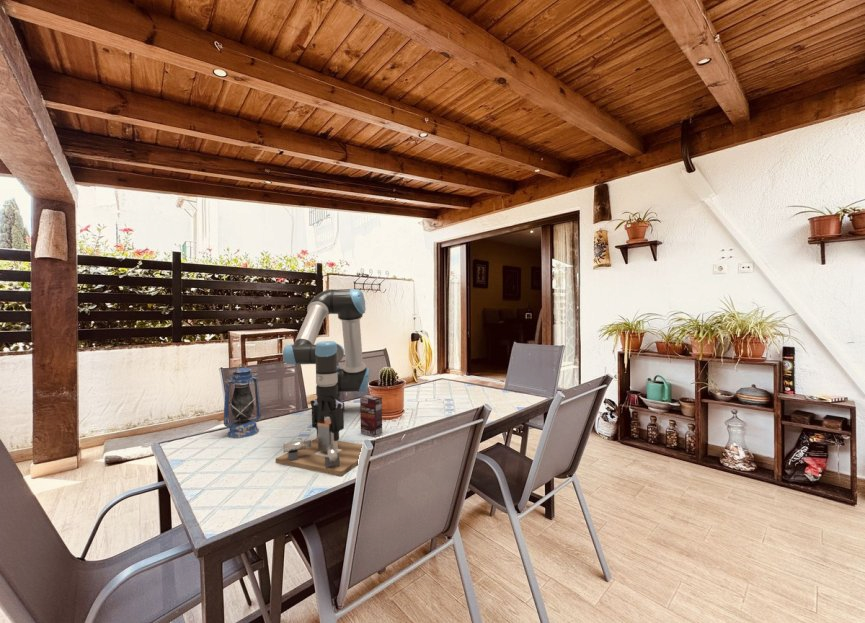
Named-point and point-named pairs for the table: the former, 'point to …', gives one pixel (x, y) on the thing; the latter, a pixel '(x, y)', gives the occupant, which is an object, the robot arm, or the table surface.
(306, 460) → the cradle board
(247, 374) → the lantern
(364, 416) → the supplement box
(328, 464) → the shaft
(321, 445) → the block
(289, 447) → the shaft
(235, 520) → the table surface
